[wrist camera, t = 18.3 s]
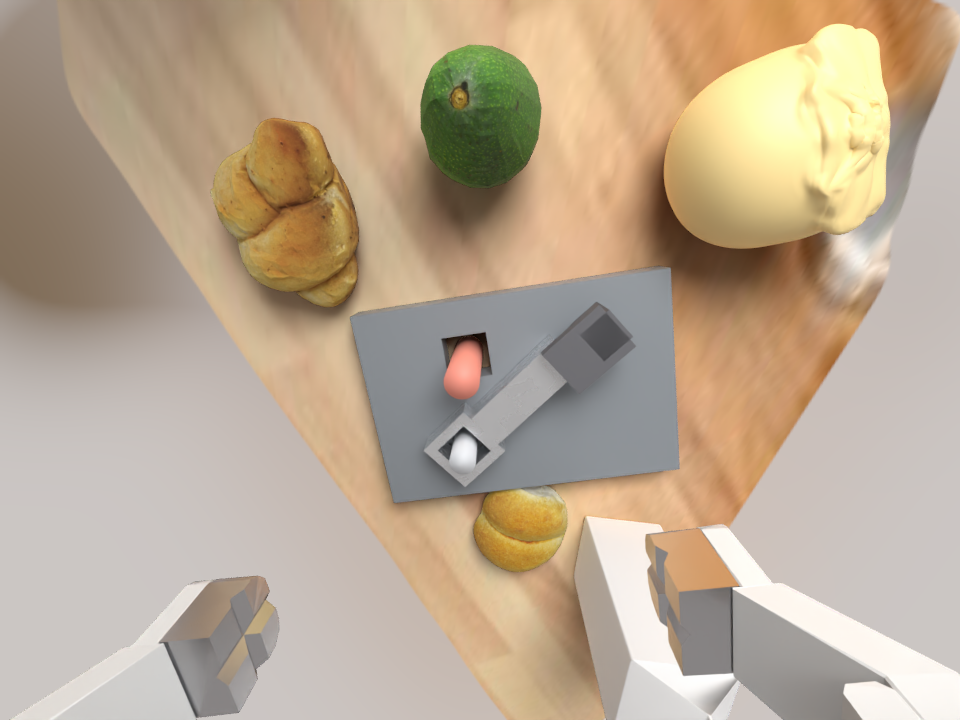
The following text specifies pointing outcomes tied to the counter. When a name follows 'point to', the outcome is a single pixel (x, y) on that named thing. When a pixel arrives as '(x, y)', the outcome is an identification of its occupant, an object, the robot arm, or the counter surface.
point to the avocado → (480, 115)
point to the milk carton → (636, 632)
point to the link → (498, 412)
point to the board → (511, 337)
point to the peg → (464, 368)
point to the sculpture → (784, 145)
